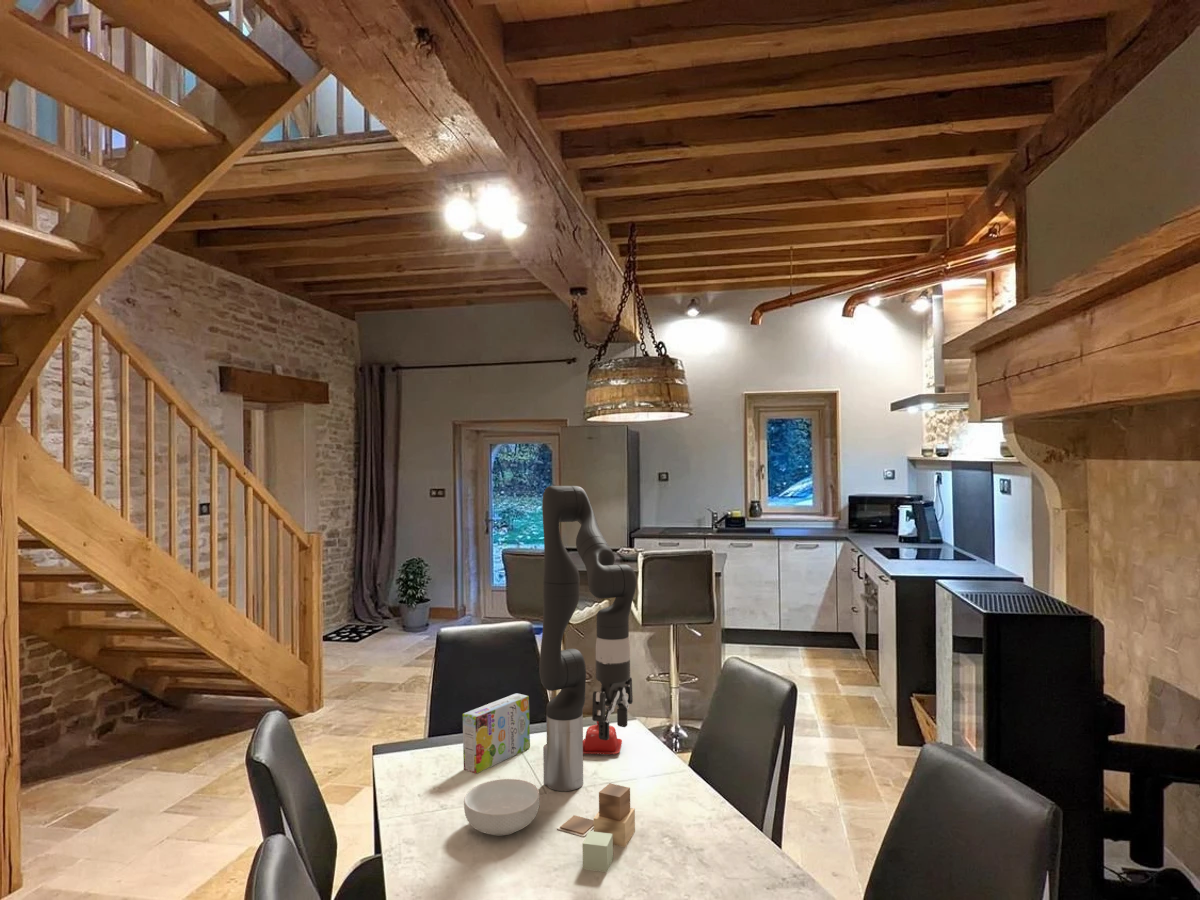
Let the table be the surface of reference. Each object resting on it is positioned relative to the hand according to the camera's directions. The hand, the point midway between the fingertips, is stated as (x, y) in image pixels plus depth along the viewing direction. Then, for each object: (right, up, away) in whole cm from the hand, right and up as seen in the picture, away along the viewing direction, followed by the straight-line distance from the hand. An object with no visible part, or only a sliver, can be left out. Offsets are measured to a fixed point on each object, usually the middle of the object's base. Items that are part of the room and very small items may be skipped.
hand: (613, 732), depth 150 cm
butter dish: (-3, -25, +47) cm, 53 cm away
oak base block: (0, -22, -1) cm, 22 cm away
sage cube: (-3, -22, -12) cm, 25 cm away
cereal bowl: (-25, -23, +4) cm, 34 cm away
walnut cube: (0, -17, -1) cm, 17 cm away
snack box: (-31, -24, +41) cm, 57 cm away
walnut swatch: (-8, -22, +3) cm, 24 cm away
